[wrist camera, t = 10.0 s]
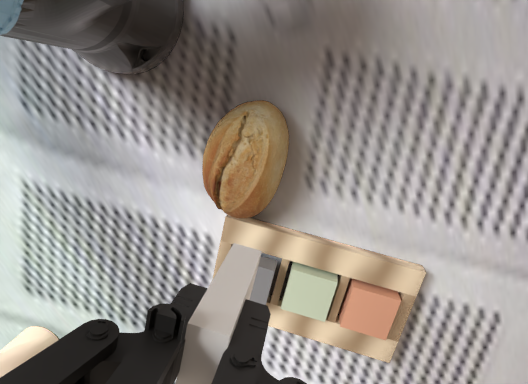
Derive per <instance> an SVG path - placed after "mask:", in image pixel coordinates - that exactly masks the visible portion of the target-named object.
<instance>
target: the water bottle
mask: <svg viewBox="0 0 528 384" xmlns="http://www.w3.org/2000/svg"><path fill="white" fill-rule="evenodd" d="M58 340H59V339H58V338H57V337H56V335H55V334H53V333H52V332H51V331H49V330H48V329H46V328H43V327H38V326H32V327H28V328H27V329H25V330H24V331H23V332H22V333H20V334H19V335H18V336H17V337H16V338H15V339H13V340H12V341H11V342H10V343H9V344H8V345H6V346H5V347H4V348H3V349H2V350H1V351H0V378H1V377H2V376H4V375H5V374H7V373H8V372H10V371H11V370H13V369H15V368H16V367H18V366H19V365H21V364H22V363H24V362H25V361H27V360H28V359H30V358H32V357H33V356H35V355H36V354H38V353H39V352H41V351H42V350H44V349H45V348H47V347H49V346H50V345H52V344H53V343H55V342H56V341H58Z"/></svg>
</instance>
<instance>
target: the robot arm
mask: <svg viewBox="0 0 528 384" xmlns="http://www.w3.org/2000/svg"><path fill="white" fill-rule="evenodd" d="M182 20H183V1H182V0H0V36H5V37H10V38H15V39H20V40H26V41H31V42H36V43H42V44H47V45H52V46H58V47H63V48H68V49H72V50H73V51H75V52H76V53H77V54H79V55H80V56H81V57H83V58H84V59H85V60H87V61H88V62H90V63H91V64H93V65H95V66H96V67H99V68H101V69H103V70H106V71H110V72H115V73H122V74H137V73H142V72H145V71H148V70H150V69H152V68H154V67H156V66H157V65H159V64H160V63H161V62H162V61H163V60H164V59H165V58H166V57H167V56H168V55H169V54H170V52H171V51H172V49H173V48H174V46H175V44H176V42H177V40H178V37H179V34H180V31H181V27H182ZM261 253H262V251H260V250H257V249H253V248H250V247H246V246H243V245H239V244H236V243H234V244H233V245H232V247H231V249H230V251H229V252H228V254H227V256H226V258H225V259H224V261H223V263H222V264H221V266H220V268H219V270H218V271H217V273H216V275H215V277H214V278H213V280H212V282H211V284H210V285H209V287H208V289H207V288H204V287H201V286H197V285H194V284H191V283H190V284H188V285H187V286H185V287H183V288H181V290H180V291H179V293H178V294H177V295H176V297H175V298H174V300H173V301H172V303H171V304H158V305H156V306H153V307H152V308H150V309H149V310H148V313H147V320H146V326H145V330H144V332H140V333H119V328H118V326H117V325H116V324H115V323H114V322H112V321H109V320H106V319H97V320H91V321H89V322H87V323H84V324H83V325H81V326H80V327H78V328H76V329H75V330H73V331H72V332H70V333H69V334H67V335H66V336H64V337H62V338H61V339H59V340H58V341H56V342H55V343H53V344H52V345H50V346H49V347H47V348H45V349H44V350H42V351H41V352H39V353H38V354H36V355H35V356H33V357H32V358H30V359H28V360H27V361H25V362H24V363H22V364H21V365H19V366H18V367H16V368H15V369H13V370H11V371H10V372H8V373H7V374H5V375H4V376H2V377H1V378H0V384H173V383H174V381H175V379H176V377H177V380H176V384H307V383H305V382H303V381H302V380H300V379H297V378H293V377H287V378H284V379H282V380H280V381H279V380H277V379H276V378H274V377H273V376H271V375H270V374H269V373H268V372H267V371H266V370H265V369H264V367H263V365H262V362H261V354H262V350H263V346H264V341H265V337H266V333H267V328H268V324H269V320H270V315H271V314H270V311H269V308H268V306H267V305H264V304H260V303H257V302H254V301H250V300H249V299H250V296H251V292H252V288H253V284H254V280H255V277H256V273H257V269H258V265H259V261H260V257H261Z"/></svg>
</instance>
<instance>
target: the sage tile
mask: <svg viewBox="0 0 528 384" xmlns="http://www.w3.org/2000/svg"><path fill="white" fill-rule="evenodd" d="M337 283H338V279H337V274H335V273H332V272H328V271H325V270H321V269H318V268H314V267H311V266H307V265H304V264H300V263H297V262H293V263H292V267H291V270H290V274H289V277H288V281H287V285H286V288H285V292H284V295H283V299H282V304H281V309H283V310H286V311H290V312H293V313H296V314H300V315H303V316H306V317H310V318H313V319H316V320H319V321H323V322H325V320H326V317H327V314H328V311H329V308H330V305H331V302H332V299H333V296H334V293H335V290H336V286H337Z"/></svg>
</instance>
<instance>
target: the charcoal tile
mask: <svg viewBox="0 0 528 384" xmlns="http://www.w3.org/2000/svg"><path fill="white" fill-rule="evenodd" d="M276 265H277V260H274V259H270V258H267V257H263V256H261V257H260V261H259V265H258V269H257V273H256V277H255V280H254V284H253V288H252V292H251V296H250V299H249V300H250V301H254V302H257V303H260V304H264V305H266V303H267V299H268V295H269V292H270V288H271V284H272V280H273V277H274V273H275V269H276Z"/></svg>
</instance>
